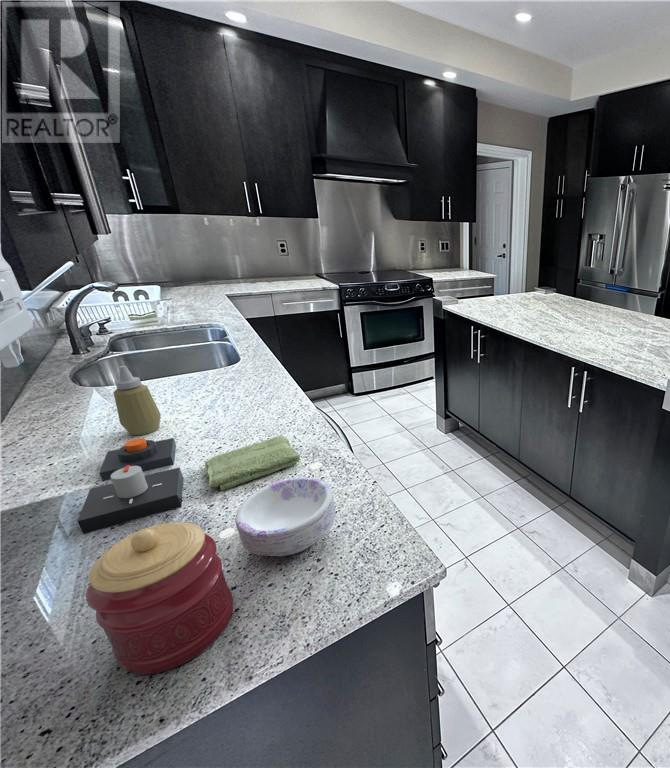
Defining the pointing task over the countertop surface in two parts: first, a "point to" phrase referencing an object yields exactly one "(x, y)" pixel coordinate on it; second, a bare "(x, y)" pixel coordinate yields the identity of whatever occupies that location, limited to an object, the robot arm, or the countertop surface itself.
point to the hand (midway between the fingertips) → (15, 365)
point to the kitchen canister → (160, 596)
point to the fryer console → (131, 502)
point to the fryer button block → (140, 457)
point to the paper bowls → (286, 516)
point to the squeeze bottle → (135, 405)
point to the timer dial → (129, 481)
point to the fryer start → (135, 445)
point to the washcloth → (250, 462)
